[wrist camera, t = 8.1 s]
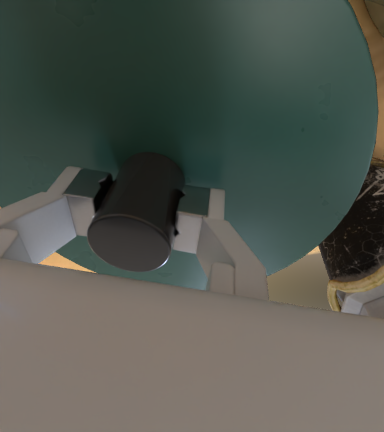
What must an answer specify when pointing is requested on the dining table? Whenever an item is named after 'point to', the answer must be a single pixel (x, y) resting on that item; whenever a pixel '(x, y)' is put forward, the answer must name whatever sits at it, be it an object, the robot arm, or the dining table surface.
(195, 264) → the lid
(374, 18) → the pot
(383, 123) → the dining table surface
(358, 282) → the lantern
